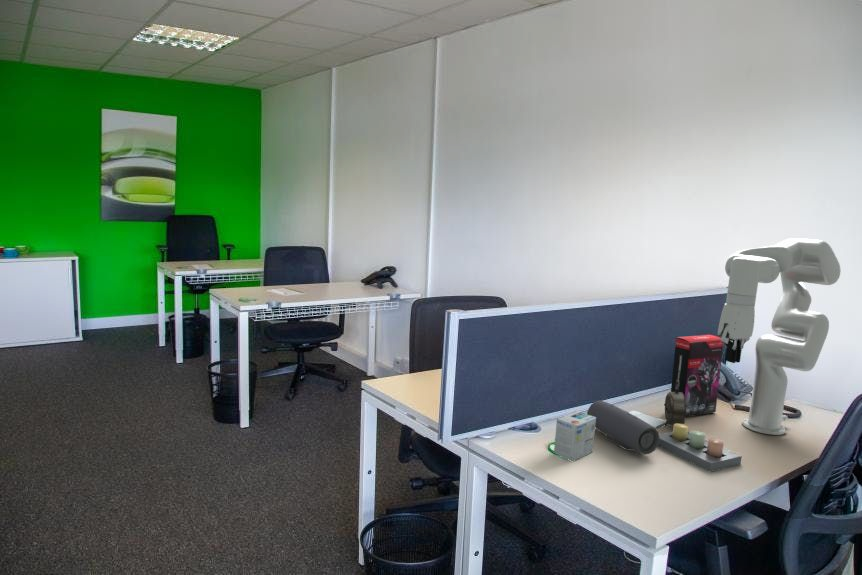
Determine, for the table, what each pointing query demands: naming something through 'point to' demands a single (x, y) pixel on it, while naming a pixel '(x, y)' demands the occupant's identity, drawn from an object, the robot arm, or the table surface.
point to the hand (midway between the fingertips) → (732, 361)
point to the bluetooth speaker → (624, 428)
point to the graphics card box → (697, 372)
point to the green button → (697, 439)
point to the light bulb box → (574, 435)
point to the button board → (698, 453)
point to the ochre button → (680, 432)
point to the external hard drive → (649, 419)
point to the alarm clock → (675, 407)
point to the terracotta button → (715, 448)
